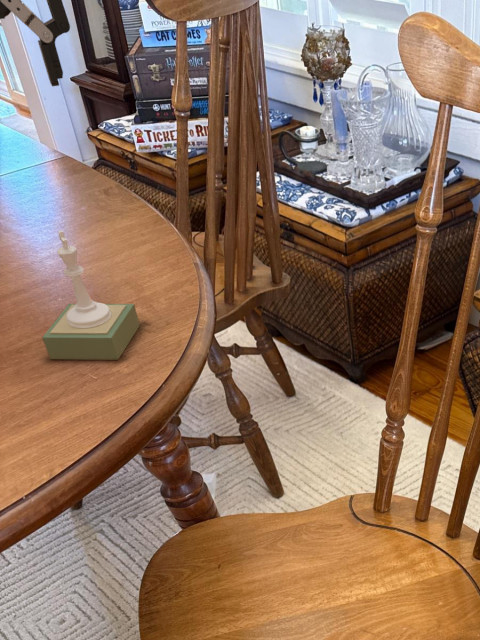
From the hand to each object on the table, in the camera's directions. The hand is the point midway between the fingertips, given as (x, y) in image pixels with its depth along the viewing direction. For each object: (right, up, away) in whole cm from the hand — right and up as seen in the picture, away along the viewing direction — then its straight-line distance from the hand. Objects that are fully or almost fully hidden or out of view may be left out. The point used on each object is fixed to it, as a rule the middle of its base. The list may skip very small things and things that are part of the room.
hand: (10, 90), depth 78 cm
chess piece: (+3, -20, +12) cm, 23 cm away
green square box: (+3, -22, +14) cm, 26 cm away
